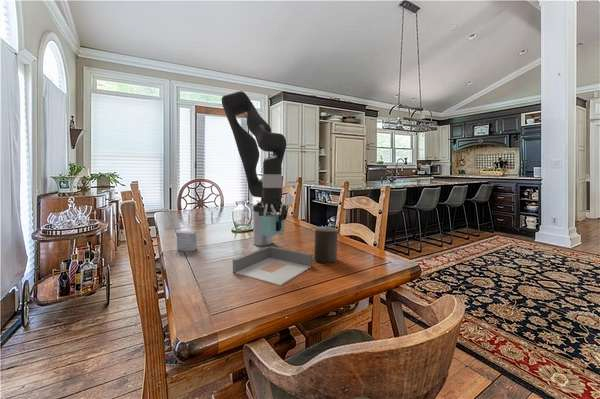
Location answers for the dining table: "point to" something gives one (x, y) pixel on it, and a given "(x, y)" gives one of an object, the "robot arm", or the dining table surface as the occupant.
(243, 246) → the dining table surface
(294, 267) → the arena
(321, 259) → the pillar candle
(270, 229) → the teal block
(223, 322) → the dining table surface
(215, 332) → the dining table surface
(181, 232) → the medicine box
